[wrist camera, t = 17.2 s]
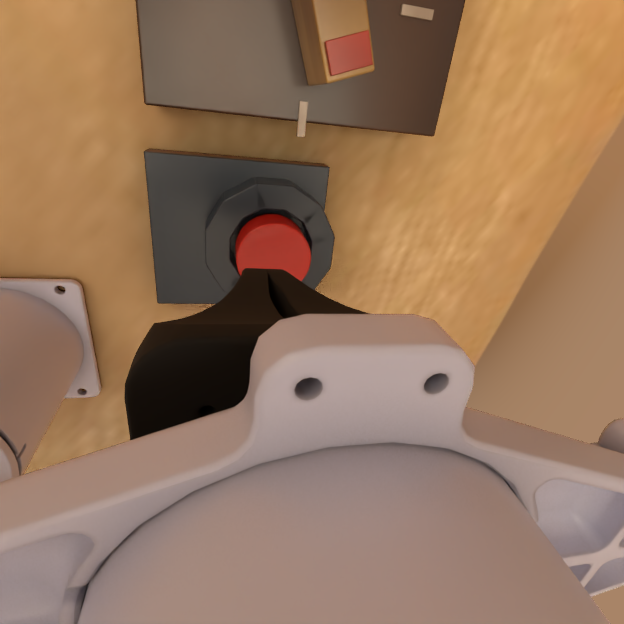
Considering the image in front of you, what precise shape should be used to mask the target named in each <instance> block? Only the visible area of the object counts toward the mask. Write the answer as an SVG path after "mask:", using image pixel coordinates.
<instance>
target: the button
mask: <svg viewBox="0 0 624 624" xmlns="http://www.w3.org/2000/svg"><path fill="white" fill-rule="evenodd" d="M235 252H236V264H237V269H238V272H239V274H240V276H241V274H242V271H243V270H244V269H245V268H259V269H283V270H285V271H287V272H288V273H290V274H291V275H293V276H294V277H295V278H297V279H298V280H300V281H302V280H303V279H304V277H305V276H306V274H307V272H308V270H309V267H310V263H311V251H310V247H309V244H308V242H307V240H306V239H305V237H304V235H303V233H302V232H301V230H300V229H299V227H298V226H297V225H296V224H295V223H294V222H293V221H292V220H290V219H288V218H287V217H284V216H282V215H278V214H264V215H260V216H257V217H255V218H253V219H251V220H250V221H249V222H247V223H246V224H245V225H244V226H243V227H242V229H241V230H240V232H239V234H238V236H237V239H236V244H235Z"/></svg>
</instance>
